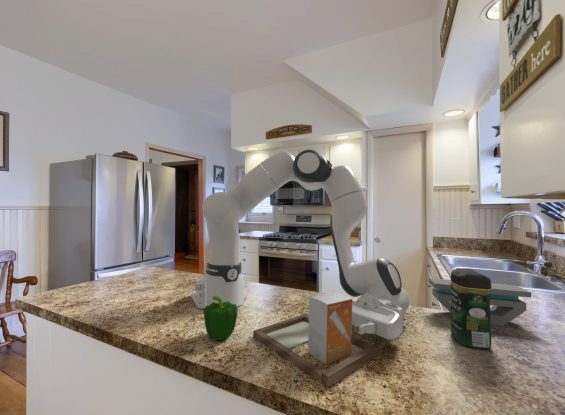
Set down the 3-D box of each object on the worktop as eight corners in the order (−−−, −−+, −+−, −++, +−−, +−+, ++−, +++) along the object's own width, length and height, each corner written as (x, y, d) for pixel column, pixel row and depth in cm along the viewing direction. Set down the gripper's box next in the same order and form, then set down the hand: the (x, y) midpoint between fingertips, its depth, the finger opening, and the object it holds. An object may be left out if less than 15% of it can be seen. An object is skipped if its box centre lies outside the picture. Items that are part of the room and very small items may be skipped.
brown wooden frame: (253, 336, 67) (253, 328, 67) (305, 318, 79) (305, 312, 79) (327, 387, 48) (328, 376, 48) (381, 353, 60) (381, 345, 60)
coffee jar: (446, 331, 73) (446, 265, 74) (479, 335, 71) (479, 267, 71) (458, 347, 64) (459, 272, 64) (496, 353, 62) (497, 275, 62)
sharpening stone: (515, 319, 83) (515, 285, 83) (531, 329, 75) (531, 292, 76) (428, 309, 90) (428, 277, 91) (434, 317, 83) (434, 283, 83)
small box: (326, 365, 55) (327, 304, 55) (307, 352, 60) (308, 295, 61) (352, 355, 59) (353, 298, 60) (332, 343, 65) (333, 290, 65)
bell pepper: (243, 336, 67) (244, 297, 67) (215, 347, 61) (216, 305, 62) (225, 325, 73) (226, 290, 73) (198, 335, 67) (199, 296, 67)
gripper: (341, 289, 80) (310, 298, 71) (409, 310, 64) (379, 324, 55) (341, 310, 80) (309, 321, 71) (408, 335, 64) (379, 354, 55)
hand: (341, 323), depth 63 cm, fingers open, 8 cm apart
